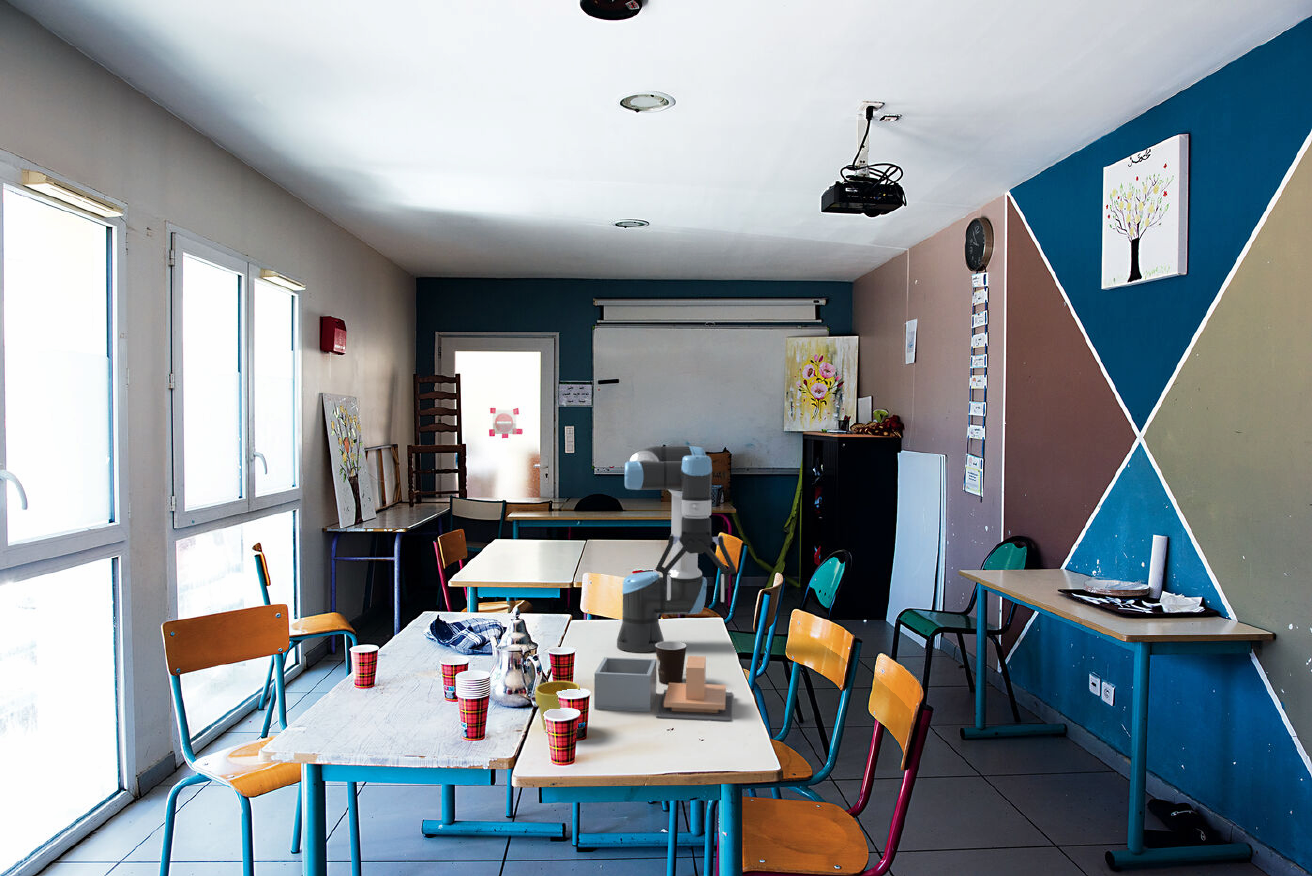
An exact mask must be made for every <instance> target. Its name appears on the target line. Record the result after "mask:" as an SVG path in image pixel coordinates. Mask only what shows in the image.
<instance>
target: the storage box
mask: <svg viewBox="0 0 1312 876" xmlns="http://www.w3.org/2000/svg"><path fill="white" fill-rule="evenodd" d="M593 680H594V685H593V686H594V687H593V688H594V689H593V692H594V697H593V698H594V701H593V702H594V703H593V704H594V708H593V709H594V710H602V711H604V710H605V711H606V710H607V711H623V710H626V712H646V713H647V712H649V713H650V712H651V710H652V708H653V704H654V701H655V698H656V696H657V658H656V659H655V658H634V657H633V658H631V657H630V658H629V657H605V656H604V658H603V659H602V660H601V662H600V664H599V665H598V667H597V668H596V671H595V672H594V679H593Z"/></svg>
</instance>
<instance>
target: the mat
mask: <svg viewBox="0 0 1312 876" xmlns="http://www.w3.org/2000/svg"><path fill="white" fill-rule="evenodd" d="M666 692H667V689H663V692H662V696H661V700H660V702H659V706H658V709H657V713H656V716H655V717H656V719H669V720H672V719H673V720H687V721H688V720H689V721H690V720H691V721H693V720H694V721H708V720H711V721H713V722H729V721H731V722H732V707H733V705H732V702H733V692H731V691H729V692H728V691H726V700H725V710H720V709H718V713H709V712H686V711H672V707H664V699H665V696H666ZM711 721H710V722H711Z"/></svg>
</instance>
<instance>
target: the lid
mask: <svg viewBox="0 0 1312 876" xmlns="http://www.w3.org/2000/svg"><path fill="white" fill-rule="evenodd" d="M706 657H707V656H699V655H698V656H697V655H696V656H694V655H688V656H687V660H686V661H687V662H686V666H685V682H682V683H669V684H668V686H667V688H666V690H667V692H666V696H665V699H664V707H672V711H686V712H709V713H718V709H720V710H725V700H726V692H727V684H708V683H707V682H706V680H707V679H706V677H707V676H706V674H707V673H706V672H707V666H706V663H707V662H706V661H707V658H706Z"/></svg>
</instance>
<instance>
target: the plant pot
mask: <svg viewBox="0 0 1312 876" xmlns="http://www.w3.org/2000/svg"><path fill="white" fill-rule="evenodd" d="M567 689H578V690H580V691H581V686H580V685H579V684H578V683H576V682H573V681H569V680H552V681H547V682H542V683H540V684H538V685H537V686H536V687H535V691H534V692H535V703H536V705H537V706H538V707H539V712H540V717H541V722H542V726H543V730H546V724H545V720H544V716H543V714H544V712H545V711H547V710H549V709H560V708H561V706H560V704H559V701H558V695H557V694H556V692H557V691H562V690H567Z"/></svg>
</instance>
